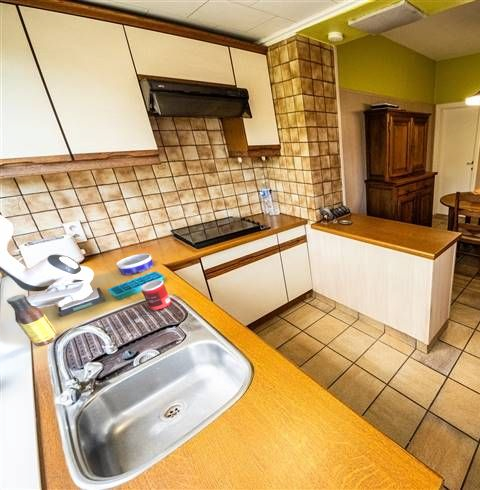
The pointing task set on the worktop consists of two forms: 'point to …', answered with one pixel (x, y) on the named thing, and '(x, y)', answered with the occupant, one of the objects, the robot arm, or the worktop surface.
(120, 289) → the ice cube tray
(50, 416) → the worktop surface
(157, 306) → the canned food
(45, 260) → the robot arm
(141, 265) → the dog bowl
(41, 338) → the sauce bottle
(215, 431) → the worktop surface
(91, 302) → the scale
